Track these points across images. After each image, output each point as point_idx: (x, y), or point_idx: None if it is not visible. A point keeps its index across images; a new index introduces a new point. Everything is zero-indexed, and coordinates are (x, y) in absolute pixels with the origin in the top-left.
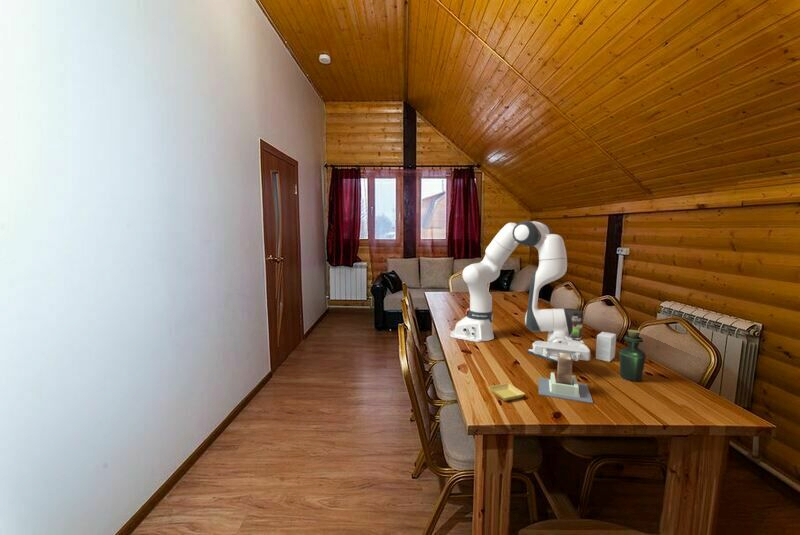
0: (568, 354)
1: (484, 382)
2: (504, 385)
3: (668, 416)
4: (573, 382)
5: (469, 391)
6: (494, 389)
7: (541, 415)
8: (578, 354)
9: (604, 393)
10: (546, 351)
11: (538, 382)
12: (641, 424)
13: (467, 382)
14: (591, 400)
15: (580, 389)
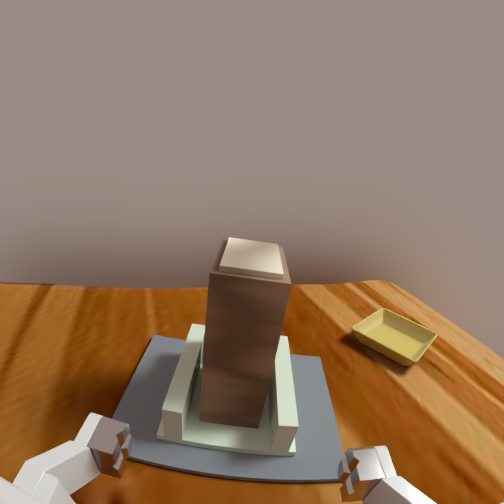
0: (229, 261)
1: (469, 375)
2: (418, 355)
3: (9, 299)
4: (198, 352)
5: (457, 335)
6: (425, 343)
7: (297, 298)
8: (55, 453)
9: (68, 388)
10: (390, 472)
11: (337, 428)
12: (93, 286)
13: (490, 362)
14: (153, 342)
15: (156, 402)
